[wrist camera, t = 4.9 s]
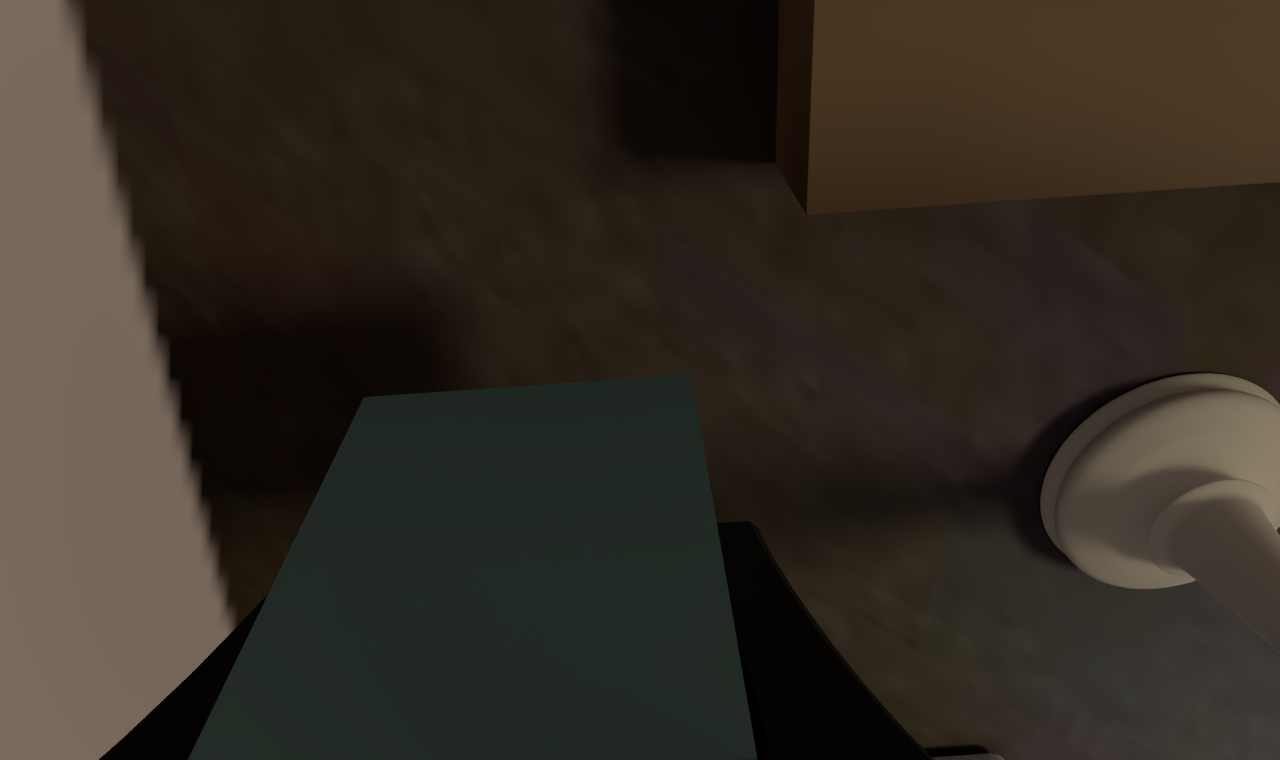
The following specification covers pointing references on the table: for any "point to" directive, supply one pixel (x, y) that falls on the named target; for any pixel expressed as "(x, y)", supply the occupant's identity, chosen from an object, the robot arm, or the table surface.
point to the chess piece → (1176, 493)
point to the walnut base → (1022, 99)
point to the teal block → (500, 590)
